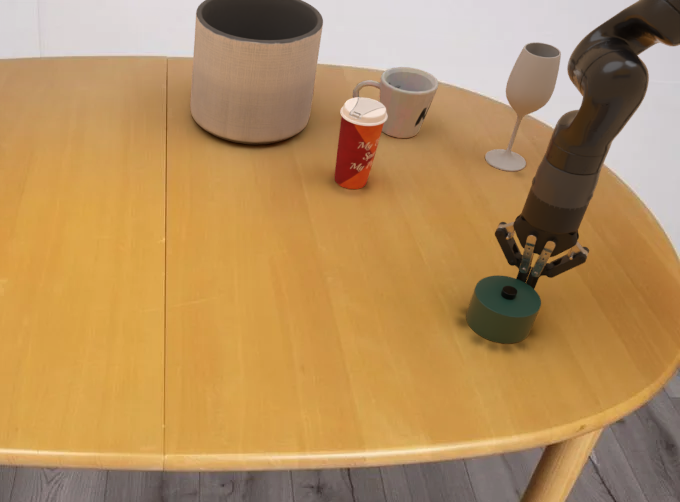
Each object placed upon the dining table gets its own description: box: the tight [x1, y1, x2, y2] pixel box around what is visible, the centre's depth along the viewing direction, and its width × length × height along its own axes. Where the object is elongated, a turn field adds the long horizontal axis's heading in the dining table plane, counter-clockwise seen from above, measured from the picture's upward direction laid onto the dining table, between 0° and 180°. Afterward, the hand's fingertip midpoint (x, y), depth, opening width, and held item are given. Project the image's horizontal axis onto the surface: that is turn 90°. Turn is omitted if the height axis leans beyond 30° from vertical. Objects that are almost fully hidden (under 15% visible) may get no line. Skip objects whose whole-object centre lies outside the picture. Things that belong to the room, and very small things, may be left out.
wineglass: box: [484, 41, 562, 173], centre depth 151 cm, size 8×8×21 cm
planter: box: [189, 0, 324, 145], centre depth 159 cm, size 23×23×20 cm
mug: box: [352, 66, 440, 139], centre depth 162 cm, size 10×15×10 cm
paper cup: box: [334, 96, 387, 190], centre depth 147 cm, size 8×8×14 cm
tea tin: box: [465, 275, 542, 345], centre depth 123 cm, size 9×9×6 cm
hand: (522, 290), depth 127 cm, fingers closed
